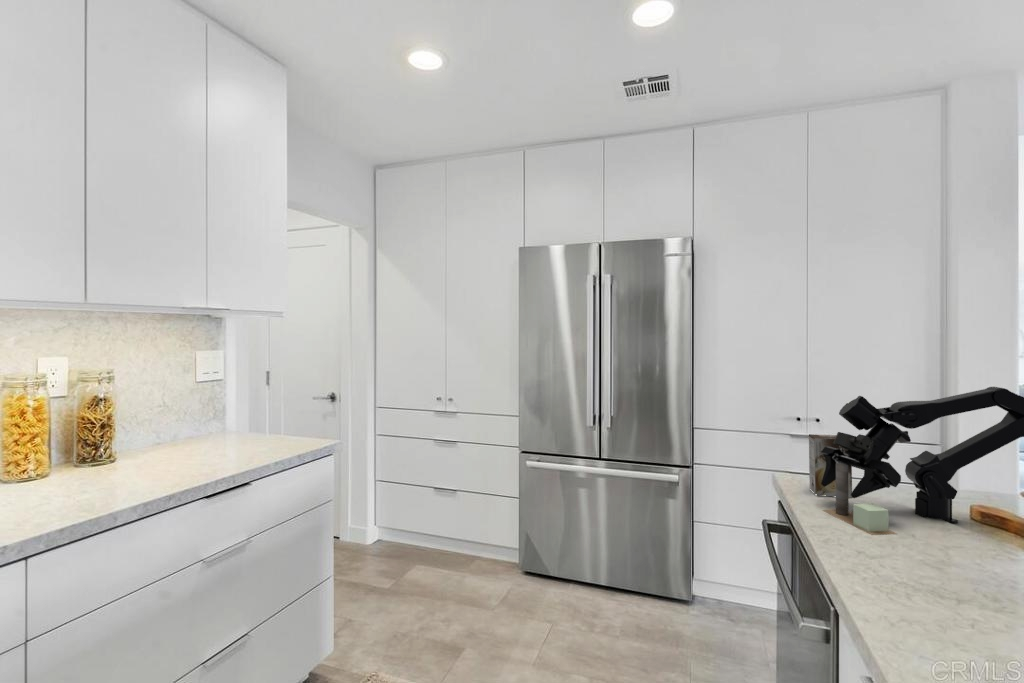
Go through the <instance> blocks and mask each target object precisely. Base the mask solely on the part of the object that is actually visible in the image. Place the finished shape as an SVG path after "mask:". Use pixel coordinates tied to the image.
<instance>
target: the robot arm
mask: <svg viewBox="0 0 1024 683" xmlns="http://www.w3.org/2000/svg"><path fill="white" fill-rule="evenodd" d="M992 407H993V408H994V407H999V408H1000V409H1002V410H1004V411H1005V412H1006V413H1005V415H1004V416H1003V418H1002V419H1001V420H1000V421H999V422H997V423H995V424H993V425H992V426H990V427H989V428H988V427H987V428H986V429H985V430H982V431H981V432H978V433H977V434H975V435H973V436H970V437H969V438H968V439H966V440H964V441H961V442H960V443H958V444H956V445H954V446H952V447H950V448H949V449H947V450H945V451H943V452H941V453H937V454H935V453H932V452H930V451H928V450H924V451H922V453H920V454H919V455H917V456H914V457H910V458H909V460H911V461H909V462H907V464H906V465H905V470H904V472H905V475H906V477H907V478H908V480H910V481H912V483H913V485H914V488H916V489H918V491H916V497H915V499H914V500H915V501H914V502H915V505H914V513H915V515H917V516H919V517H922V518H924V519H935V520H941V521H944V522H947V523H949V524H957V523H959V520H958V519H956V518H953V500H954V499H955V498H956V496H957V494H958V490H957V489H956V488H954V486H953V485H951V484H950V483H949V481H951V480H952V479H953V477H954V476H955V474H956V473H957V472H958V471H959V470H960V469H962V468H964V467H966V466H967V465H970V464H971V463H974V462H975V461H978V460H980V459H981V458H983V457H985V456H987V455H989V454H991V453H993V452H995V451H997V450H999V449H1000V448H1003V447H1004V446H1007V445H1008V444H1011V443H1012V442H1014V441H1016V440H1018V439H1020V438H1024V396H1021V395H1019V394H1016V393H1015V392H1013V391H1011V390H1009V389H1007V388H1003V387H998V386H989V387H986V388H983V389H978V390H975V391H969V392H966V393H960V394H955V395H951V396H945V397H941V398H937V399H931V400H909V401H907V400H906V401H896V402H894V403H892V404H891V405H890V406H887V407H879V408H877V407H875V406H874V405H873V404H871V403H870V402H869V400H868V399H867V398H865V397H864V396H862V395H858V396H857V397H856V398H854V399H852V400H850V401H849V402H848V403H845V404H844V405H843V406H842V408H841V409H840V410H839V412H838V414H839V415H840V416H841V417H842V419H844V420H846V421H847V422H848V423H849V424H850V425H852V426H853V427H854V428H855V429H857V430H858V431H862V430H865V431H868V432H867V433H866V434H865V435H864V434H861V433H860V434H858V435H857V436H856V435H852V434H850V433H844V432H840V431H837V433H836V435H837V436H836V438H835V440H834V443H833V444H835V445H839V446H841V447H843V448H845V450H844V451H845V452H846V453H847V454H849V457H846V456H845V455H844V453H843V452H842V451H841V450H840V449H837V448H833V447H825V448H824V449H823V450H822V451H821V454H822V455H823V458H824V459H825V461H826V468H825V472H824V475H823V479H822V482H821V485H822V486H823V487H825V486H827V485H829V484H830V483H832V482H833V481H834V480H836V463H844V464H848V468H849V467H850V466H852V468H856V469H860V470H863V476H862V478H861V479H860V480H859V482H858V483H857V485H856V486H855V487H854V489H852V493H851V496H852V498H853V499H856V498H860V497H861V496H864V495H867V494H870V493H872V492H876V491H879V490H882V489H885V488H887V489H890V488H891V486H892V487H894V488H897V487H898V486H899V485H900V483H901V481H902V475H901V474H900V473H899V472H898V471H897V470H896V469H895V468H894V467H893V466H892V464H891V463H890V462H887V461H883V460H888V459H890V457H891V455H890V454H889V453H888V452H890V450H891V449H892V448H893V447H894V446H895V445H896V443H897V442H899V443H901V444H902V443H910V442H912V440H911V437H910V435H909V431H908V430H901V428H899V427H898V426H896V425H895V424H897V425H899V426H901V427H903V428H905V429H911V430H912V429H917V428H920V427H923V426H926V425H929V424H931V423H932V422H935V421H936V420H938V419H940V418H943V417H948V416H952V415H954V416H955V415H958V414H963V413H968V412H974V411H979V410H982V409H987V408H992ZM887 421H889V422H891V423H889V422H887Z"/></svg>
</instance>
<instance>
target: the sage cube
mask: <svg viewBox="0 0 1024 683" xmlns="http://www.w3.org/2000/svg"><path fill="white" fill-rule="evenodd" d="M852 510H853V511H852V513H853V524H854V525H856V526H858V527H860V528H862V529H864V530H866V531H868V532H877V531H889V530H890V528H889V524H890V523H889V509H886V508H884V507H882V506H880V505H877V504H875V503H853V509H852Z"/></svg>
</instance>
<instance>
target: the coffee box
mask: <svg viewBox="0 0 1024 683" xmlns="http://www.w3.org/2000/svg"><path fill="white" fill-rule="evenodd" d="M836 436H837V434H835V435H834V434H811V433H809V434H808V458H809V459H808V464H809V465H808V470H809V490H810V489H811V490H812V491H813V492H814V494H817V495H826V496H836V480H834V481H833V482H832V483H830V484H829V485H827V486H825V487H823V486H822V485H821V482H822V479H823V475H824V472H825V468H826V461H825V459H824V458H823V455H822V454H821V451H822V450H823V449H824V448H825V447H833V448H837V449H840V450H841V451H842V452H843V453H844V455H845V456H846V457H849V454H847V453H846V452H845V451H844V450H845V448H843V447H841V446H839V445H835V444H833V443H834V440H835V438H836ZM852 468H853V467H852V466H850V467H849V468H848V498H849V499H852V498H853V497H852V496H851V493H852V492H853V469H852ZM811 490H810V491H811ZM814 494H813V495H814ZM826 496H825V497H826Z"/></svg>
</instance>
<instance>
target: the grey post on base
mask: <svg viewBox="0 0 1024 683" xmlns="http://www.w3.org/2000/svg"><path fill="white" fill-rule="evenodd" d="M849 499H850V498H848V464H844V463H836V497H835V509H822V511H823V512H825V513H827V514H829V516H830V515H831V516H833V517H835V518H837V519H839V520H841V521H843V522H844V523H846V524H849V525H851V526H852V527H855V528H857V529H859V530H860V531H863V532H865V533H866V534H868V535H871V536H883V535H898V533H897V532H895V531H893V530H890V529H889V531H877V532H868V531H866V530H864V529H862V528H860V527H858V526H856V525H854V524H853V511H850V510H849V505H850V504H849Z"/></svg>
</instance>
